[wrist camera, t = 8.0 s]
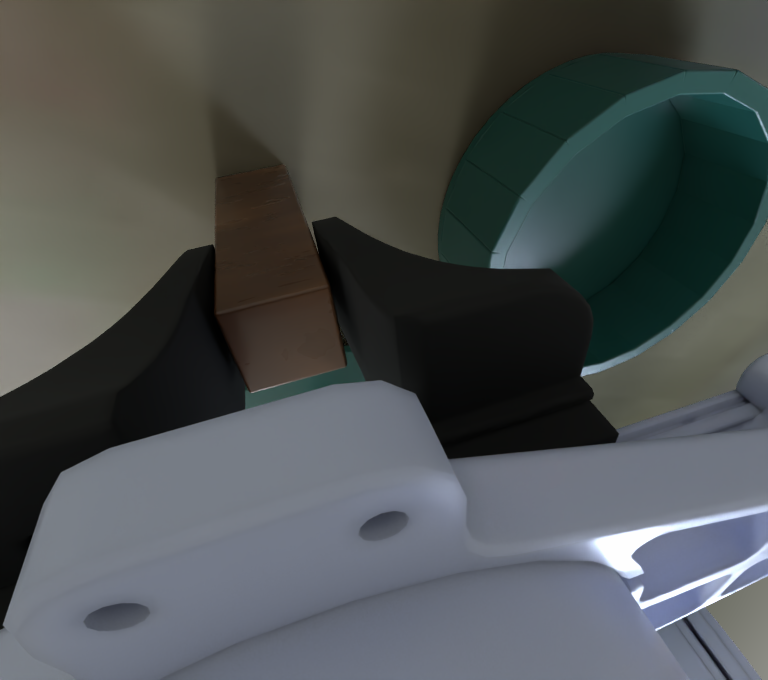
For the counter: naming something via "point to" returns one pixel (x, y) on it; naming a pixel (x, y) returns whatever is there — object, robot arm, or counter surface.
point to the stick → (271, 283)
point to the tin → (618, 190)
